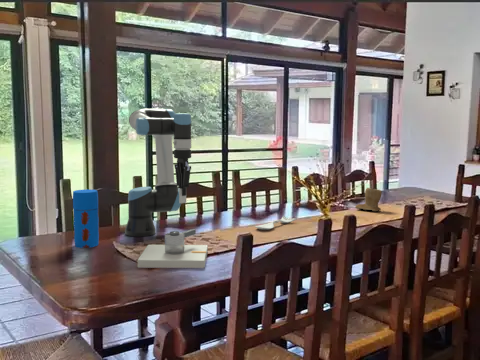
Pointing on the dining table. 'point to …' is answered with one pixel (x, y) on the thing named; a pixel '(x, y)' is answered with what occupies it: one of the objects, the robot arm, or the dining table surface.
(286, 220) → the spoon
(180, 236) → the capstan
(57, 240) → the dining table surface
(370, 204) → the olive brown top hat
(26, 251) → the dining table surface
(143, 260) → the stand
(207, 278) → the dining table surface
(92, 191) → the thermos
